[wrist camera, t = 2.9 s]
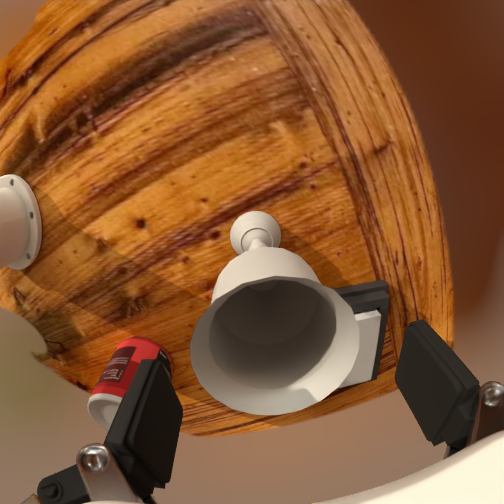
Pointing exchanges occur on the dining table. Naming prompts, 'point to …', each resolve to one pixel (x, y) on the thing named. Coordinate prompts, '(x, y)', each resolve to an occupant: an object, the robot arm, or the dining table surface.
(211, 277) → the dining table surface
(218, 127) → the dining table surface
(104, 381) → the canned food
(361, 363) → the pan
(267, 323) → the chalice
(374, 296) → the scale
